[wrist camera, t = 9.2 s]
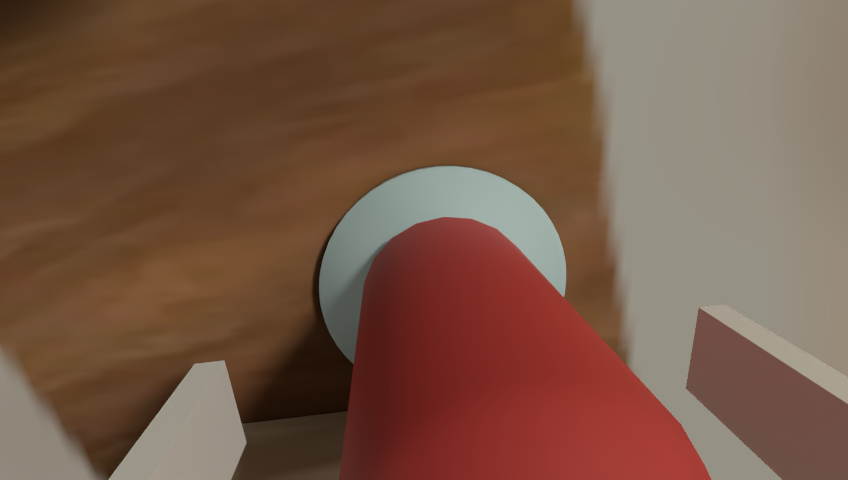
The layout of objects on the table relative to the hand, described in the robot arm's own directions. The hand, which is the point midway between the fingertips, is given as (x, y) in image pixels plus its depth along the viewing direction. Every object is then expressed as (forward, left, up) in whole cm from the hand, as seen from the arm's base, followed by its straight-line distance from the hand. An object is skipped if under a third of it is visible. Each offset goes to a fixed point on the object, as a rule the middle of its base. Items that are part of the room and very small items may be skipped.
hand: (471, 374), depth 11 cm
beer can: (0, 0, -6) cm, 6 cm away
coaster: (0, 0, -6) cm, 6 cm away
